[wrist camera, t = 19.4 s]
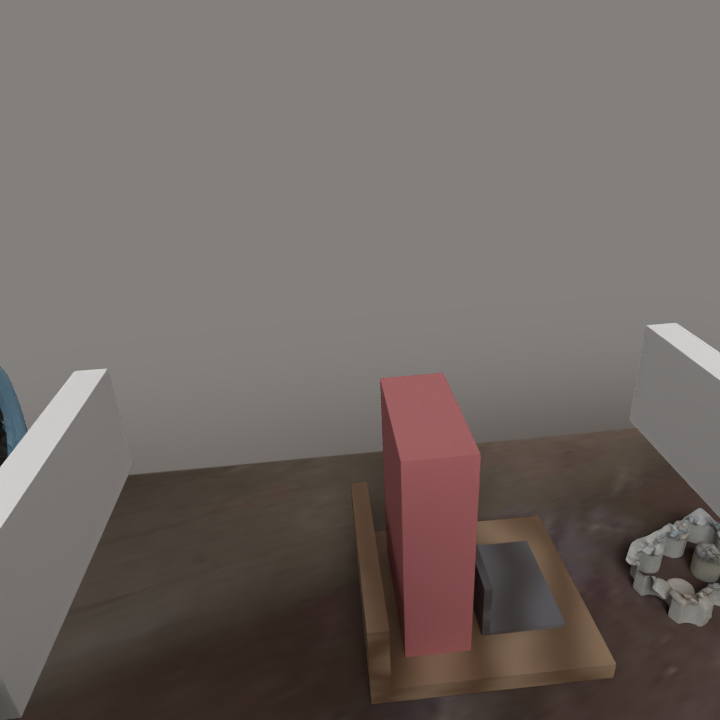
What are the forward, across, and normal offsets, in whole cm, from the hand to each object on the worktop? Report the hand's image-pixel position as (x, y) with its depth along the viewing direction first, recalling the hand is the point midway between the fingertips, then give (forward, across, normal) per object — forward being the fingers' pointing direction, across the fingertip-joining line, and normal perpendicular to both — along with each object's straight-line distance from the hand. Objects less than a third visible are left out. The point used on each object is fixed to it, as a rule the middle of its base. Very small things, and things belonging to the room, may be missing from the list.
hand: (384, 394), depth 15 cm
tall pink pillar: (+22, +5, -32) cm, 40 cm away
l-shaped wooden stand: (+22, +9, -34) cm, 42 cm away
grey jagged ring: (+23, +28, -34) cm, 50 cm away
